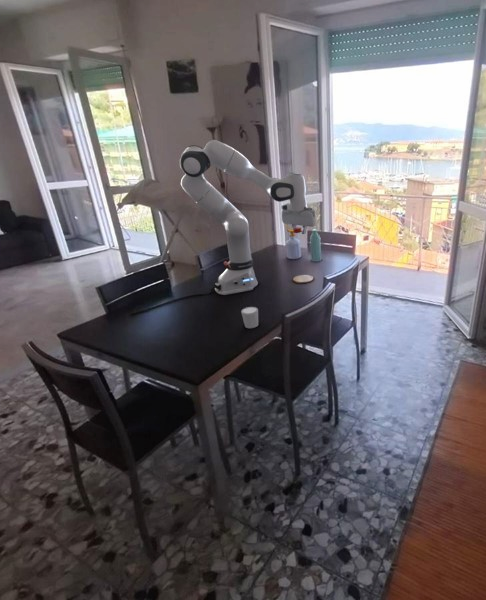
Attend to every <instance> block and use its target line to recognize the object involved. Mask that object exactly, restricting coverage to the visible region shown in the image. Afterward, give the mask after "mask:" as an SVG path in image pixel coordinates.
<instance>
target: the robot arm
mask: <svg viewBox="0 0 486 600" xmlns="http://www.w3.org/2000/svg"><path fill="white" fill-rule="evenodd" d="M179 167H180V169H181V171H182V172H183V173H184V175H183V176H182V178H181V181H180V186H181V188H182V189H183V190H184V192H185V193H186V194H187V196H189V197H190V199H192V200H193V201H194V202H195V203H196V204H197V205H198V206H199V207H200V208H202V210H204V211H205V212H206V213H207V214H208V215H209V216H211V217H212V218H213V219H214V220H215V221H217V222H218V223H219V224H220V225H222V226H223V227H224V230H225V233H226V243H227V251H228V257H229V261H223V265H224V266H225V267H226V269H225V270H224V271H223V272H222V273H221V274H220V275H219V276H218V278H217V282H215V283H214V286H212V288H210V291H209V292H207V293H194V294H190V295H185V296H180V297H177V298H175V299H172V300H168V301H166V302H162V303H160V304H158V305H157V304H156V305H155V306H152V307H149V308H145V309H140V310H137V311H132V312H131V313H130V314H131V315H137V314H140V313H144V312H147V311H150V310H154V309H156V308H159V307H162V306H165V305H168V304H170V303H173V302H176V301H180V300H183V299H187V298H191V297H196V296H206V295H211V294H213V290H214V291H215V292H216V294H218V295H221V296H226V295H232V294H238V293H243V292H249V291H252V290H254V288H255V287H257V286H258V285H259V281H258V280H257V277H256V274H255V270H254V268H255V267H254V259H253V258H252V252H251V244H250V243H251V242H250V225H249V221H248V219H247V218H246V216H245V215H244V214H243V213H242V212H241V211H240V210H239V209H238V208H236V206H234V204H232V203H231V202H230V201H229V199H227V198H226V197H225V196H224V195H223V194H222V193H221V192H220V191H218V189H216V187H215V186H213V184H211V183H210V182H209V181H208V180H207V178H205V177H206V176H205V175H204V174H205V173H206V171H208V170H209V169H210V168H211V167H215V168H217V169H219V170H220V171H223V172H224V173H225V174H227V175H229V176H231V177H234V178H236V179H245V180H248V181H250V182H252V183H253V184H255V185H256V186H259V187H261V188H262V189H263V190H265V191H264V192H266V194H267V195H268V197H270V198H271V199H272V200H274V201H275V202H279V203H282V202H286V201H288V203H286V204H282V205H281V208H280V209H281V221H282V223H283V224H285V225H287V224H288V225H291V228H292V230H293V229H294V228H298V227H297V226H300V227H302V228H303V229H302V232H301V235H306V234H307V229H308V228H313V227H317V224H318V221H317V214H316V210H315V209H314V208H313V207H309V206H308V205H307V204H308V202H307V197H306V192H307V187H306V180H305V177H304V175H303V174H301V173H299V172H293V171H292V172H291V171H289V172H288V173H287V174H286V175H284V176H283V177H281V178H276V177H271V176H268V175H267V174H265V173H263V172H262V171H260V170H258V169H257V168H256V167H254V166H253V165H252V163H251V162H250V160H249V159H248V158H247V157H245V155H243V153H241V152H240V151H238V150H236V149H235V148H233V147H232V146H230V145H229V144H227V143H224V142H222V141H219V140H217V139H211V140H209V141H208V142H207V143H206V145H205V146H204V147H201V146H199V145H196V144H195V145H189V146H187V147H186V148H185V149H184V150H183V151H182V153H181V155H180V157H179Z"/></svg>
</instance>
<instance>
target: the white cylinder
mask: <svg viewBox="0 0 486 600" xmlns="http://www.w3.org/2000/svg"><path fill="white" fill-rule="evenodd" d="M240 312H241V317H242V321H243V324H244V327H245V328H247V329H255V328H256V327H258V326H259V309H258V307H256V306H248V307H247V306H246V307H244V308H243V309H241V311H240Z"/></svg>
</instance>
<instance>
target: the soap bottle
mask: <svg viewBox="0 0 486 600" xmlns="http://www.w3.org/2000/svg"><path fill="white" fill-rule="evenodd" d="M289 228H290V227H289V224H286V231H287V232H288V233H290V234H289V239H288V240H286V242H285V247H286V256H287V259H288V260H298V259H300V258H301V257H302V251H301V250H302V249H301V241H300V240H299V239H298V238H296V233H294V231H293V229H289Z"/></svg>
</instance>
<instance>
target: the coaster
mask: <svg viewBox="0 0 486 600" xmlns="http://www.w3.org/2000/svg"><path fill="white" fill-rule="evenodd" d="M292 280H293V283H295V284H309V283H312V282H313V281H314V276H313V275H310V274H300V275H296V276H294V277H293V279H292Z"/></svg>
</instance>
